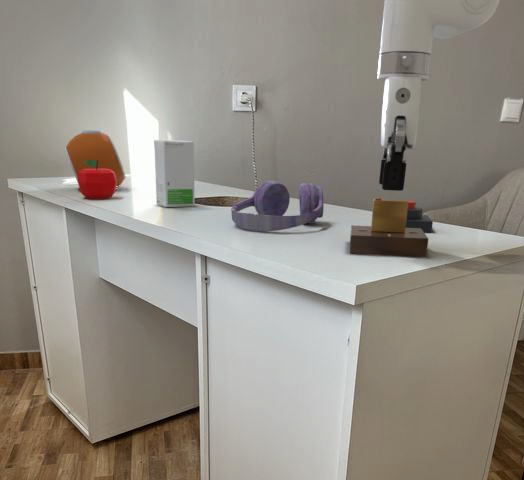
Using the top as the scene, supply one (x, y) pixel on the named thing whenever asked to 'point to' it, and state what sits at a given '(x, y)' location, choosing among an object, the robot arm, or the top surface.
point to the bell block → (418, 220)
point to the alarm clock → (94, 153)
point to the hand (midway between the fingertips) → (390, 187)
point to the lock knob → (389, 215)
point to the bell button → (411, 205)
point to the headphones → (278, 207)
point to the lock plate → (388, 242)
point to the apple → (96, 181)
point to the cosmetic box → (174, 173)
